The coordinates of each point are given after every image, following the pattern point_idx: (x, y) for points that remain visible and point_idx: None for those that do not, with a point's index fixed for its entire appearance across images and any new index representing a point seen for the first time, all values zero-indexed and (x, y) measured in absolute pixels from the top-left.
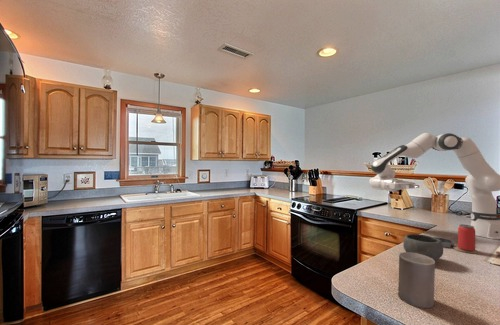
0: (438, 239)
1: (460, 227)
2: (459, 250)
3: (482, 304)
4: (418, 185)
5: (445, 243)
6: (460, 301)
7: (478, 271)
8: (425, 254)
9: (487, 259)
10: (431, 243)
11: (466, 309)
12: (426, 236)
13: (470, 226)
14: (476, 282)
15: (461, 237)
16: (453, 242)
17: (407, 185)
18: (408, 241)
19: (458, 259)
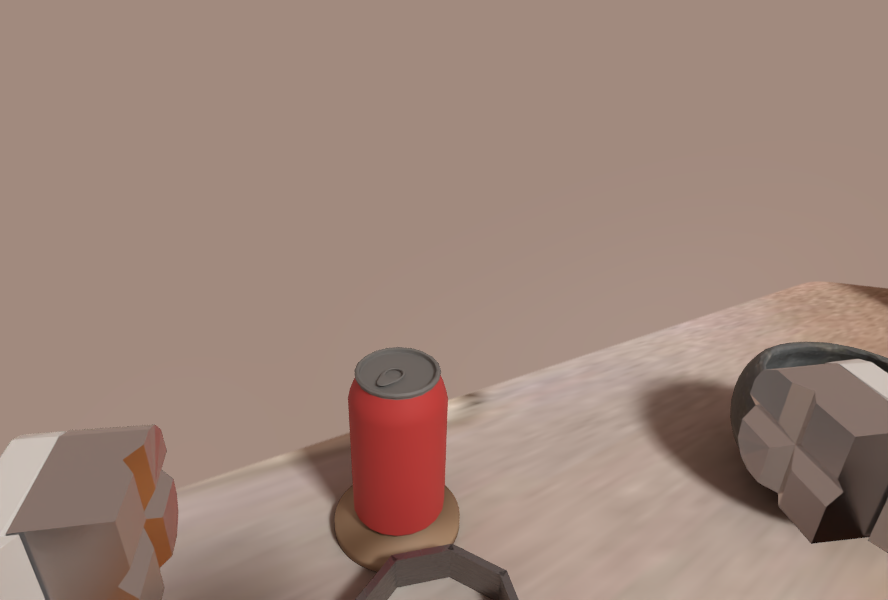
0: (764, 356)
1: (440, 391)
2: (458, 512)
3: (796, 301)
4: (104, 431)
5: (482, 563)
6: (849, 313)
7: (624, 376)
8: None
9: None
10: (838, 345)
11: (855, 300)
12: None
13: (370, 368)
14: (713, 344)
15: (445, 442)
16: (405, 552)
17: (883, 370)
18: None
19: (594, 450)
